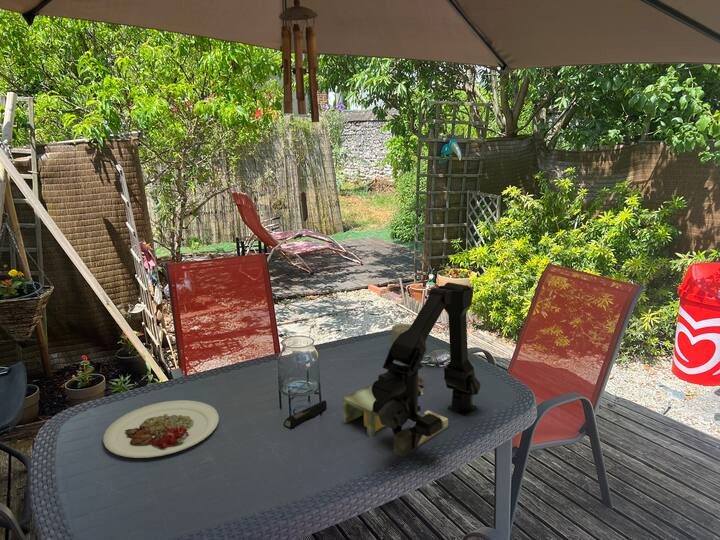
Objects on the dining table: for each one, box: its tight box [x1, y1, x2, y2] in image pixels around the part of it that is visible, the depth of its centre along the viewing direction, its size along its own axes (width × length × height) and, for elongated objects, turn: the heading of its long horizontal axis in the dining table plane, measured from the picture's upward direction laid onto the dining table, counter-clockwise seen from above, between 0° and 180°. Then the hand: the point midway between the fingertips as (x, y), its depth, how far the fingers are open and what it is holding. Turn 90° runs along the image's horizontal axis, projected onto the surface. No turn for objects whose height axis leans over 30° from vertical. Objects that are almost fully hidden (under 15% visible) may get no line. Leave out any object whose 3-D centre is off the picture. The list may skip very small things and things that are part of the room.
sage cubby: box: [342, 384, 376, 437], centre depth 146 cm, size 18×11×8 cm, turn 135°
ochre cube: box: [363, 411, 386, 432], centre depth 142 cm, size 4×4×4 cm
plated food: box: [102, 399, 220, 459], centre depth 141 cm, size 30×30×3 cm
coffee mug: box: [391, 323, 412, 345], centre depth 195 cm, size 13×10×10 cm
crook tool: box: [393, 410, 449, 458], centre depth 136 cm, size 8×20×5 cm, turn 135°
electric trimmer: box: [283, 400, 328, 430], centre depth 147 cm, size 4×15×3 cm, turn 138°
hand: (406, 444), depth 130 cm, fingers open, 5 cm apart
